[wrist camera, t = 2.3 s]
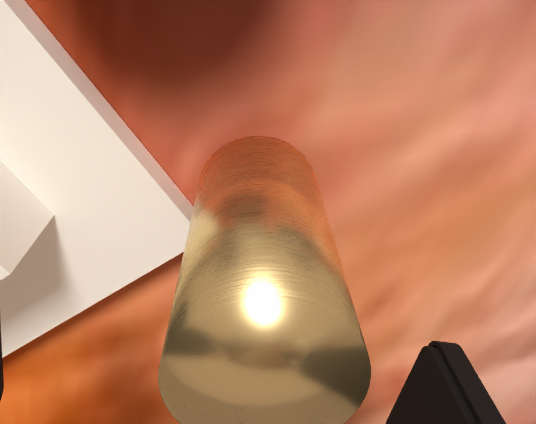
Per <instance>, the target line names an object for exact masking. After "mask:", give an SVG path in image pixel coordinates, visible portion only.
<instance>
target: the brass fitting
mask: <svg viewBox="0 0 536 424" xmlns="http://www.w3.org/2000/svg"><path fill="white" fill-rule="evenodd" d="M370 378H371V365H370V360H369V356H368V352H367V349H366V346H365V342H364V339H363V336H362V332H361V329H360V325H359V322H358V319H357V315H356V312H355V309H354V305H353V302H352V299H351V295H350V292H349V289H348V285H347V282H346V278H345V275H344V272H343V268H342V265H341V262H340V258H339V255H338V252H337V248H336V245H335V242H334V238H333V235H332V231H331V228H330V225H329V221H328V218H327V215H326V211H325V208H324V205H323V201H322V198H321V195H320V191H319V188H318V184H317V181H316V178H315V175H314V172H313V169H312V167H311V165H310V164H309V162H308V161H307V159H306V158H305V157H304V156H303V155H302V154H301V153H300V152H299V151H298V150H297V149H296V148H294V147H293V146H291V145H290V144H288V143H286V142H284V141H281V140H279V139H275V138H271V137H265V136H252V137H245V138H241V139H237V140H235V141H232V142H230V143H228V144H226V145H224V146H223V147H222V148H220V149H219V150H217V151H216V152H215V153H214V154H213V155H212V156H211V158H210V159H209V160H208V161H207V163H206V165H205V166H204V168H203V171H202V173H201V176H200V180H199V185H198V189H197V194H196V199H195V203H194V208H193V213H192V217H191V222H190V226H189V231H188V236H187V240H186V245H185V250H184V254H183V259H182V263H181V268H180V273H179V277H178V282H177V287H176V291H175V296H174V300H173V305H172V310H171V314H170V319H169V324H168V328H167V333H166V337H165V342H164V347H163V351H162V356H161V361H160V365H159V372H158V383H159V390H160V393H161V396H162V399H163V401H164V403H165V405H166V407H167V409H168V410H169V411H170V413H171V414H172V415H173V417H174V418H175V419H176V420H177V421H178V422H179V423H180V424H344V423H345V422H346V421H347V420H348V419H349V418H350V417H351V416H352V415H353V414H354V413H355V412H356V411H357V409H358V408H359V407H360V405H361V404H362V402H363V400H364V398H365V396H366V394H367V391H368V388H369V384H370Z"/></svg>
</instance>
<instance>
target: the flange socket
mask: <svg viewBox="0 0 536 424" xmlns="http://www.w3.org/2000/svg"><path fill="white" fill-rule="evenodd" d="M193 208H194V207H193V206H192V204H191V203H190V202H189V201H188V200H187V198H186V197H185V196H184V195H183V193H182V192H181V191H180V190H179V189H178V187H177V186H176V185H175V184H174V182H173V181H172V180H171V179H170V178H169V176H168V175H167V174H166V173H165V171H164V170H163V169H162V168H161V167H160V165H159V164H158V163H157V162H156V160H155V159H154V158H153V157H152V156H151V154H150V153H149V152H148V151H147V149H146V148H145V147H144V146H143V145H142V143H141V142H140V141H139V140H138V138H137V137H136V136H135V135H134V134H133V132H132V131H131V130H130V129H129V127H128V126H127V125H126V124H125V123H124V121H123V120H122V119H121V118H120V116H119V115H118V114H117V113H116V112H115V110H114V109H113V108H112V107H111V106H110V104H109V103H108V102H107V101H106V99H105V98H104V97H103V96H102V95H101V93H100V92H99V91H98V90H97V88H96V87H95V86H94V85H93V84H92V82H91V81H90V80H89V79H88V77H87V76H86V75H85V74H84V73H83V71H82V70H81V69H80V68H79V66H78V65H77V64H76V63H75V62H74V60H73V59H72V58H71V57H70V55H69V54H68V53H67V52H66V51H65V49H64V48H63V47H62V46H61V44H60V43H59V42H58V41H57V40H56V38H55V37H54V36H53V35H52V33H51V32H50V31H49V30H48V29H47V27H46V26H45V25H44V24H43V23H42V21H41V20H40V19H39V18H38V16H37V15H36V14H35V13H34V12H33V10H32V9H31V8H30V7H29V5H28V4H27V3H26V2H25V1H24V0H0V321H1V341H2V358H3V357H5V356H6V355H8V354H10V353H12V352H13V351H15V350H17V349H18V348H20V347H22V346H24V345H25V344H27V343H29V342H30V341H32V340H34V339H35V338H37V337H39V336H41V335H42V334H44V333H46V332H47V331H49V330H51V329H53V328H54V327H56V326H58V325H59V324H61V323H63V322H64V321H66V320H68V319H70V318H71V317H73V316H75V315H76V314H78V313H80V312H82V311H83V310H85V309H87V308H88V307H90V306H92V305H93V304H95V303H97V302H99V301H100V300H102V299H104V298H105V297H107V296H109V295H111V294H112V293H114V292H116V291H117V290H119V289H121V288H122V287H124V286H126V285H128V284H129V283H131V282H133V281H134V280H136V279H138V278H140V277H141V276H143V275H145V274H146V273H148V272H150V271H151V270H153V269H155V268H157V267H158V266H160V265H162V264H163V263H165V262H167V261H169V260H170V259H172V258H174V257H175V256H177V255H179V254H180V253H182V252H184V250H185V245H186V240H187V236H188V231H189V226H190V222H191V217H192V213H193Z"/></svg>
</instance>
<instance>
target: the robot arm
mask: <svg viewBox="0 0 536 424" xmlns="http://www.w3.org/2000/svg"><path fill="white" fill-rule="evenodd" d="M3 388H4V382H3V362H2V341H1V321H0V400H1V397H2V394H3ZM386 424H506V423H505V421H504V419H503V418H502V416H501V414H500V413H499V411H498V409H497V408H496V406H495V404H494V402H493V401H492V399H491V397H490V396H489V394H488V392H487V390H486V389H485V387H484V385H483V384H482V382H481V380H480V379H479V377H478V375H477V373H476V372H475V370H474V368H473V367H472V365H471V363H470V361H469V360H468V358H467V356H466V355H465V353H464V351H463V350H462V348H461V347H460V346H459V345H458V344H456V343H448V342H440V341H432V342H431V343H429V345H428V346H424V347H423V348H422V349H421V351H420V353H419V355H418V357H417V359H416V361H415V363H414V366H413V368H412V370H411V372H410V374H409V376H408V378H407V380H406V382H405V384H404V386H403V388H402V390H401V392H400V394H399V396H398V399H397V401H396V403H395V405H394V407H393V409H392V411H391V413H390V415H389V417H388V419H387V421H386Z"/></svg>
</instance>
